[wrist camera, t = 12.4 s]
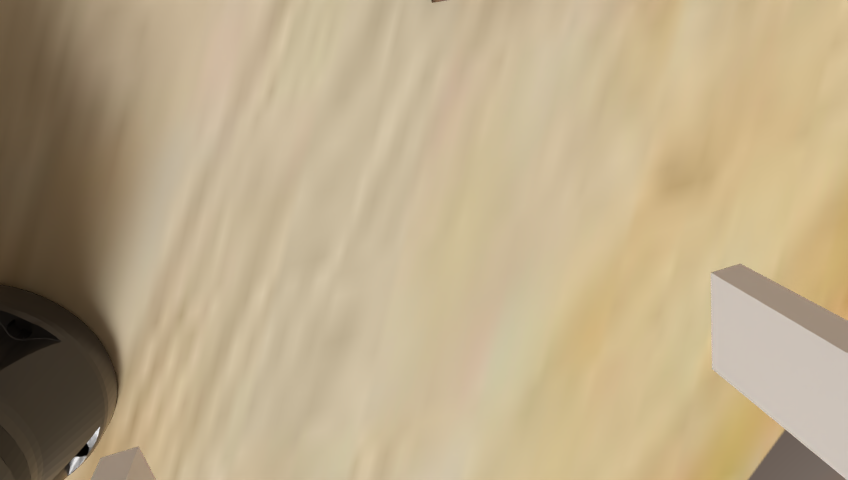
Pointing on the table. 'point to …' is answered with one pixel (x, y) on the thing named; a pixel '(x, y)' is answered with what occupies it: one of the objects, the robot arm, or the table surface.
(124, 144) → the table surface
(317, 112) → the table surface
